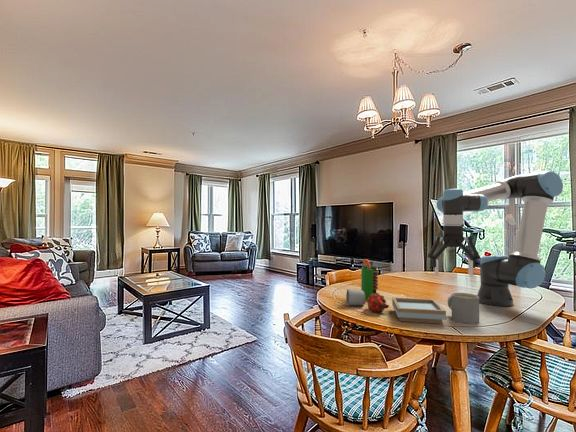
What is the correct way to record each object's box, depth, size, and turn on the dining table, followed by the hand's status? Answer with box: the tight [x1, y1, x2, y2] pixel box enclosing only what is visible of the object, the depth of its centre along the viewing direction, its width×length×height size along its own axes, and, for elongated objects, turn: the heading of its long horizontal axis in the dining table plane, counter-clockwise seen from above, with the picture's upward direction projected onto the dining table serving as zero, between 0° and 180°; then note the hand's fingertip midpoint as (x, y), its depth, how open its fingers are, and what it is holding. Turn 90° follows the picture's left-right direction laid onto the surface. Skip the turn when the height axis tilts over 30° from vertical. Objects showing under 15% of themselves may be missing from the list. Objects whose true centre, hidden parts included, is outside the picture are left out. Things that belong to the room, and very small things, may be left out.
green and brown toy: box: [360, 259, 379, 301], centre depth 165 cm, size 10×9×20 cm
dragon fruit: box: [366, 292, 390, 314], centre depth 141 cm, size 8×8×12 cm
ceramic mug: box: [345, 288, 366, 307], centre depth 153 cm, size 11×8×8 cm
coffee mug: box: [447, 292, 480, 325], centre depth 131 cm, size 13×10×10 cm
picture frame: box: [391, 297, 447, 324], centre depth 133 cm, size 18×18×6 cm
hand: (453, 275), depth 133 cm, fingers open, 13 cm apart
